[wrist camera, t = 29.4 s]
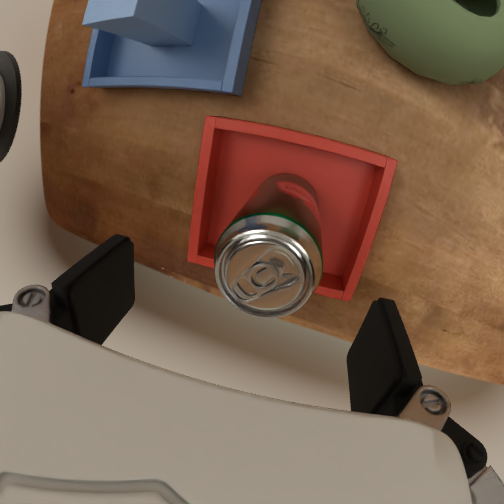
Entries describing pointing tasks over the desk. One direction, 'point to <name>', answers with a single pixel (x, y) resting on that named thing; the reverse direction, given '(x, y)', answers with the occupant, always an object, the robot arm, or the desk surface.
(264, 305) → the soda can
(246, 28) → the blue tray
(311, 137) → the red tray
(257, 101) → the desk surface
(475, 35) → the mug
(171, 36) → the blue block
